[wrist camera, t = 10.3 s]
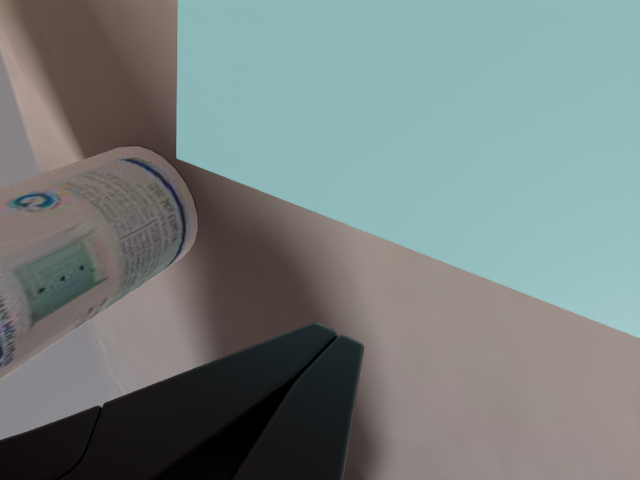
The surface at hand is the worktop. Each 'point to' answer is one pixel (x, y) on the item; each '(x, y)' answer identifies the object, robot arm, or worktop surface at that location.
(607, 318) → the lid
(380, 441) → the worktop surface
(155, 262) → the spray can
